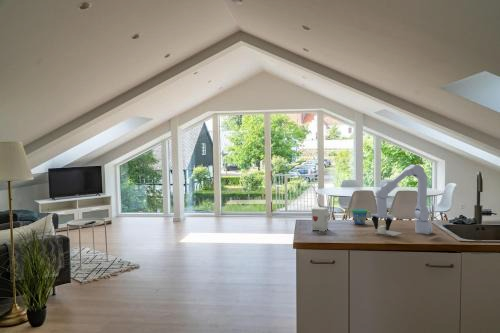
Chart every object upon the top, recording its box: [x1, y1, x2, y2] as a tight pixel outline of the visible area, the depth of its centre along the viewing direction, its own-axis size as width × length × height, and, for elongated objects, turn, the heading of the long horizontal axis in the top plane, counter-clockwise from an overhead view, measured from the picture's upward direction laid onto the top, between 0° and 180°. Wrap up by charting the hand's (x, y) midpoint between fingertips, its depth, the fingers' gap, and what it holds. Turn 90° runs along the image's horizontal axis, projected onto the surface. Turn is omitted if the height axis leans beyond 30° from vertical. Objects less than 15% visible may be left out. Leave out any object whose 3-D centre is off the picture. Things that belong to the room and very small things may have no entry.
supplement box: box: [311, 206, 329, 232], centre depth 287 cm, size 9×9×15 cm
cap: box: [377, 225, 386, 235], centre depth 266 cm, size 5×5×4 cm
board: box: [375, 230, 403, 237], centre depth 266 cm, size 13×13×4 cm
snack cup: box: [348, 208, 372, 225], centre depth 309 cm, size 16×10×10 cm
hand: (382, 229), depth 266 cm, fingers open, 7 cm apart
